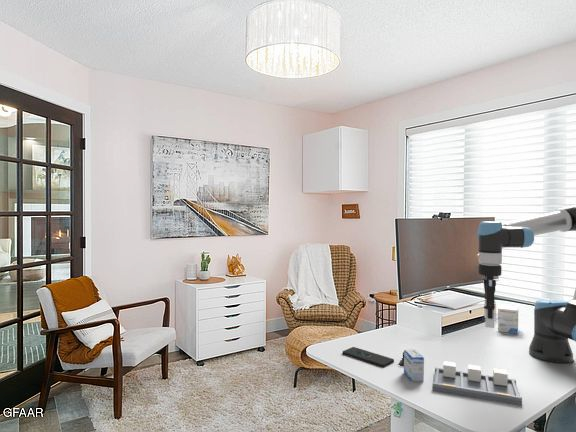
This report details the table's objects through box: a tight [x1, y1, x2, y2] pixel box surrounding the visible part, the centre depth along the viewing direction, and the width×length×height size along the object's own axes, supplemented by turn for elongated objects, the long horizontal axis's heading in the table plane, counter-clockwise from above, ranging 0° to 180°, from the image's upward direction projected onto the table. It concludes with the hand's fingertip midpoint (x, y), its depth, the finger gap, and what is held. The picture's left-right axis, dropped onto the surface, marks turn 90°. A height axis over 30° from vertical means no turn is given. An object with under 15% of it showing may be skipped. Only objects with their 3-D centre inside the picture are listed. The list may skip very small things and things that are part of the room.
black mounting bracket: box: [397, 351, 404, 367], centre depth 157 cm, size 12×7×5 cm, turn 152°
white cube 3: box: [442, 360, 457, 378], centre depth 141 cm, size 4×4×4 cm
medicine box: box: [403, 349, 425, 382], centre depth 143 cm, size 8×4×9 cm, turn 5°
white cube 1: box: [492, 367, 509, 386], centre depth 135 cm, size 4×4×4 cm
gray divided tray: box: [432, 366, 523, 406], centre depth 135 cm, size 26×15×2 cm, turn 67°
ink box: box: [497, 304, 519, 335], centre depth 197 cm, size 9×8×12 cm
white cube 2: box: [467, 364, 482, 382], centre depth 138 cm, size 4×4×4 cm
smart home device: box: [342, 346, 395, 368], centre depth 161 cm, size 8×2×20 cm
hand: (489, 322), depth 144 cm, fingers open, 13 cm apart
